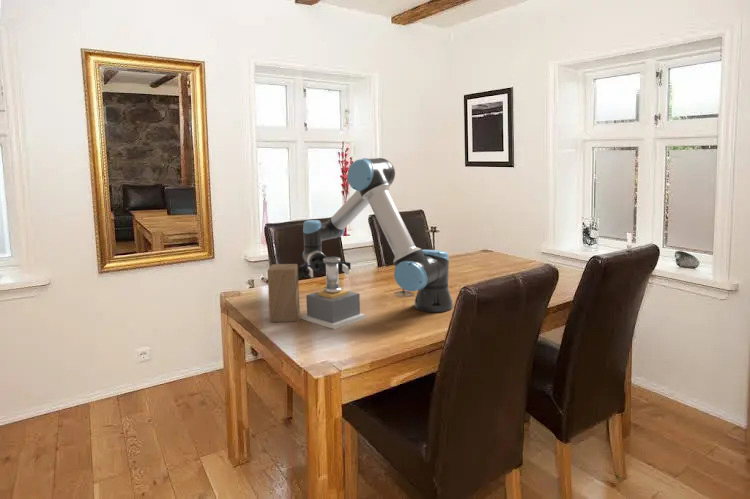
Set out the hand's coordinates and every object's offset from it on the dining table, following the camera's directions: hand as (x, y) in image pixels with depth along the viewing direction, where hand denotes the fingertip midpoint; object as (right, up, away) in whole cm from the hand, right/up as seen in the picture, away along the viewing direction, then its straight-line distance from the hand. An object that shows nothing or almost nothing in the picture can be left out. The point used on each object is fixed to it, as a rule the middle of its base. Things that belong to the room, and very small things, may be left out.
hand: (330, 272), depth 198 cm
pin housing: (+1, -18, +1) cm, 18 cm away
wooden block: (-17, -18, +3) cm, 25 cm away
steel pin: (+1, -15, +1) cm, 15 cm away
